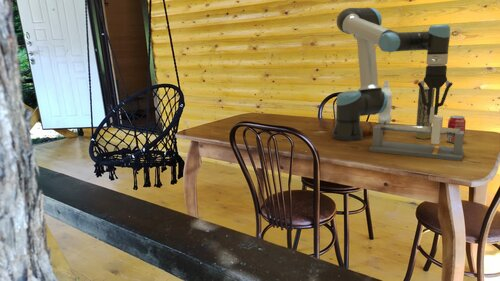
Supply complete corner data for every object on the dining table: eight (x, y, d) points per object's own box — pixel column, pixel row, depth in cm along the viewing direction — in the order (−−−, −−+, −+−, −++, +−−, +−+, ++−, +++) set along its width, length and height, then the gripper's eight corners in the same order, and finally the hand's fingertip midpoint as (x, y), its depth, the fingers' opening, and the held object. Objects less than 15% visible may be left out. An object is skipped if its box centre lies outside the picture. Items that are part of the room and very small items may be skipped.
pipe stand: (368, 151, 161) (369, 129, 158) (376, 143, 172) (377, 123, 170) (462, 161, 142) (464, 136, 140) (463, 152, 154) (465, 129, 151)
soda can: (449, 139, 174) (451, 114, 171) (465, 141, 170) (468, 116, 167) (444, 142, 170) (446, 117, 167) (460, 144, 165) (463, 118, 162)
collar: (430, 143, 149) (432, 119, 146) (433, 138, 156) (435, 115, 154) (438, 144, 147) (441, 120, 145) (440, 139, 155) (443, 116, 152)
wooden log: (432, 139, 175) (436, 87, 169) (417, 139, 177) (421, 88, 171) (428, 136, 182) (432, 86, 176) (414, 136, 183) (417, 86, 177)
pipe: (377, 130, 162) (377, 123, 161) (378, 129, 165) (379, 122, 164) (459, 137, 145) (459, 129, 145) (459, 135, 148) (460, 127, 147)
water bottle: (389, 125, 209) (391, 82, 203) (376, 124, 213) (378, 81, 207) (391, 123, 215) (394, 80, 209) (379, 122, 219) (381, 80, 212)
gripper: (417, 65, 145) (413, 123, 151) (454, 65, 139) (448, 125, 144) (420, 64, 152) (416, 119, 157) (455, 64, 145) (449, 121, 151)
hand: (431, 122), depth 151 cm, fingers closed
